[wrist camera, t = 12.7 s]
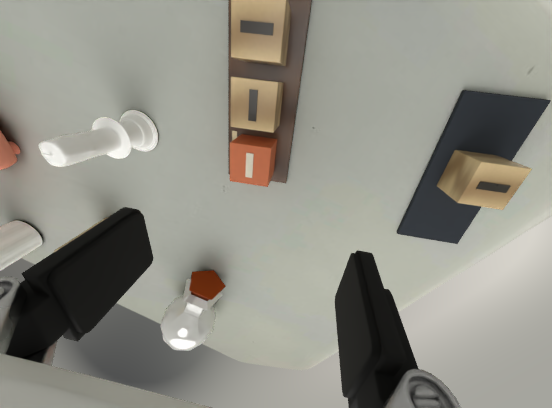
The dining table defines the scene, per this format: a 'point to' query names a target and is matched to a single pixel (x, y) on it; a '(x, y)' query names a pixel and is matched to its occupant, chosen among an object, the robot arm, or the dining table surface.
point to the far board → (285, 74)
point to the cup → (17, 242)
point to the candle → (102, 140)
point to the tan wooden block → (260, 31)
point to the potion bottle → (192, 312)
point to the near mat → (473, 138)
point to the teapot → (7, 152)
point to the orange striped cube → (252, 159)
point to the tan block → (481, 179)
